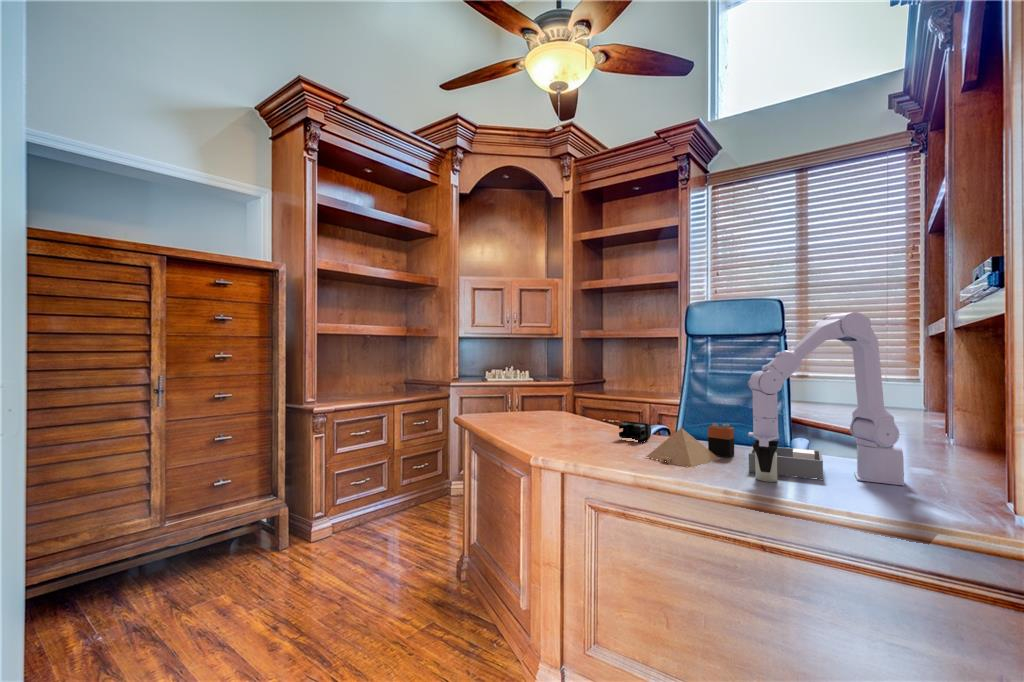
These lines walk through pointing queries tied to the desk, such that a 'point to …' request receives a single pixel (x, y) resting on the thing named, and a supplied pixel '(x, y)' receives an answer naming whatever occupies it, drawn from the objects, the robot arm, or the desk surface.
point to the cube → (803, 454)
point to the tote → (793, 464)
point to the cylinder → (765, 475)
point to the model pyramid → (683, 450)
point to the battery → (721, 440)
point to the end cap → (635, 431)
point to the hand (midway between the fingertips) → (766, 469)
